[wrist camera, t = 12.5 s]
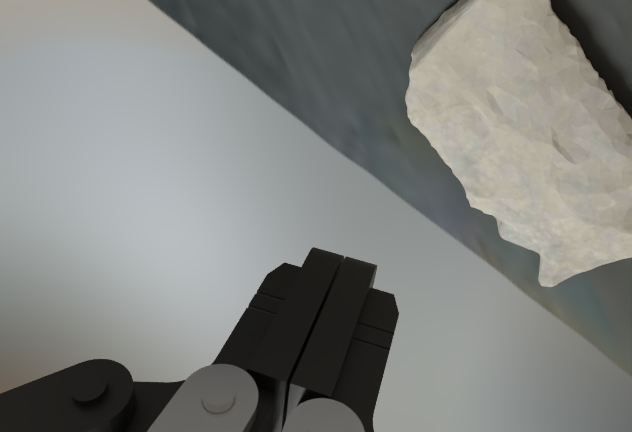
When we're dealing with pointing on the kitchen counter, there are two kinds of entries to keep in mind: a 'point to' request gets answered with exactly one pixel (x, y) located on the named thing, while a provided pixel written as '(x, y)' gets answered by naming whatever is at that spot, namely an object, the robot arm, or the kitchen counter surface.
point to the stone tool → (527, 131)
